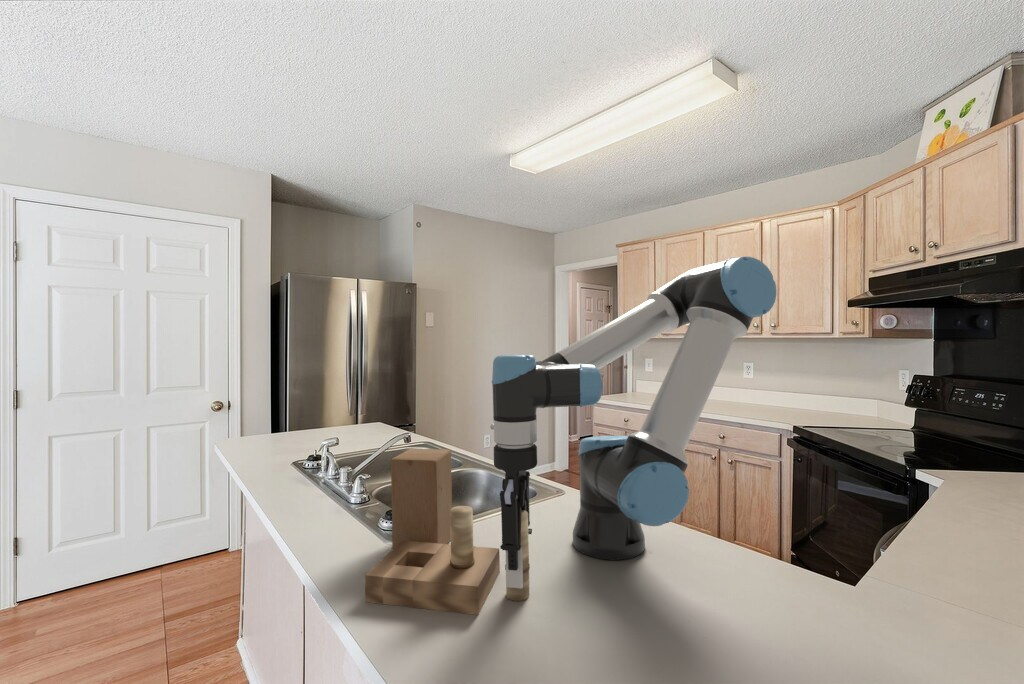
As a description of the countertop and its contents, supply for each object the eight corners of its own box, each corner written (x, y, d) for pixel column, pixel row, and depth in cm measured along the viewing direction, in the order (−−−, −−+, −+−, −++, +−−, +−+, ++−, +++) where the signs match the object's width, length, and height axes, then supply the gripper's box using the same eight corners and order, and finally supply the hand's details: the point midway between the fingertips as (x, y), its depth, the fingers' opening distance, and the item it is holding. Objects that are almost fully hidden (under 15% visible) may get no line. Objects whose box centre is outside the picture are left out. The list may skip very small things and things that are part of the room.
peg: (532, 589, 80) (530, 509, 80) (527, 602, 76) (526, 518, 76) (508, 587, 81) (507, 508, 81) (503, 600, 77) (501, 517, 77)
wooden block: (437, 558, 93) (435, 460, 93) (391, 555, 95) (390, 458, 95) (453, 538, 103) (451, 449, 103) (411, 535, 105) (410, 448, 105)
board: (499, 572, 87) (498, 498, 87) (478, 614, 73) (476, 527, 73) (402, 563, 91) (401, 492, 91) (365, 601, 77) (364, 519, 78)
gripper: (505, 433, 88) (507, 555, 88) (480, 454, 71) (482, 604, 71) (544, 434, 87) (546, 558, 86) (527, 456, 70) (530, 610, 70)
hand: (517, 579), depth 79 cm, fingers closed on peg, 4 cm apart
